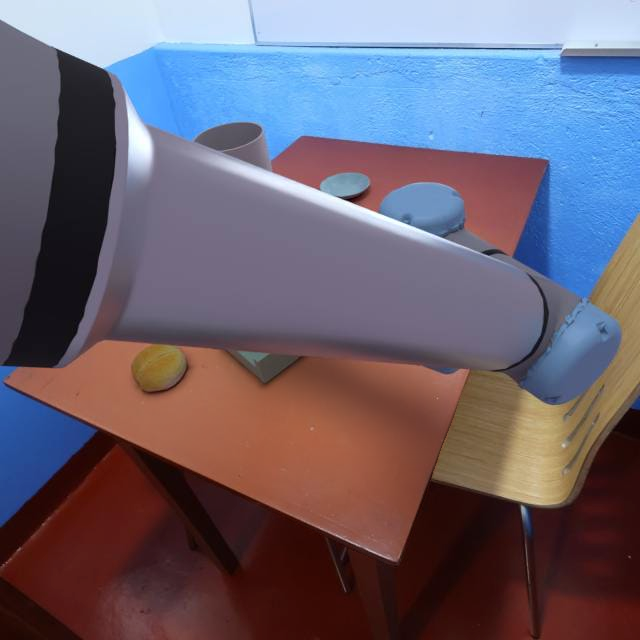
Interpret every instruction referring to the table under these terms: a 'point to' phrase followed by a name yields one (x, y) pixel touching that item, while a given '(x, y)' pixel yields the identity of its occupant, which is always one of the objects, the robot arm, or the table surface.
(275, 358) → the green tray with hole
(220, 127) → the cylinder vase
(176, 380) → the bread roll
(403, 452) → the table surface
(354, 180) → the saucer
